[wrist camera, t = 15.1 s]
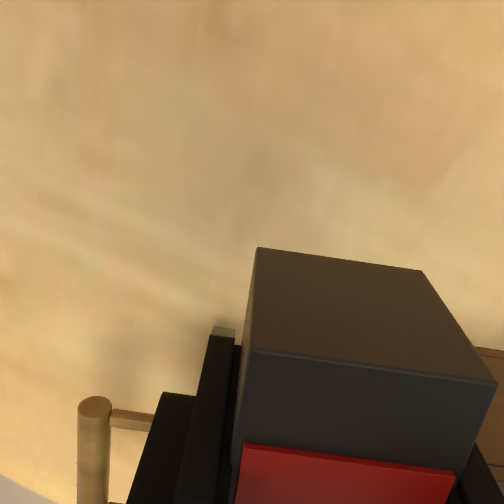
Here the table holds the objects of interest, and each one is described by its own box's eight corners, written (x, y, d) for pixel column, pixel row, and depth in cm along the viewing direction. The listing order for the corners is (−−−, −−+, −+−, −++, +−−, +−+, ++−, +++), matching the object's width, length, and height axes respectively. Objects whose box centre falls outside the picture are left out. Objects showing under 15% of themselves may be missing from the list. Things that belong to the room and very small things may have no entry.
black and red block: (343, 523, 12) (371, 701, 9) (215, 506, 12) (193, 679, 9) (422, 269, 9) (506, 390, 6) (256, 245, 9) (247, 354, 6)
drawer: (108, 470, 30) (53, 601, 23) (114, 310, 26) (49, 408, 18) (407, 514, 30) (448, 659, 23) (462, 363, 26) (535, 481, 18)
